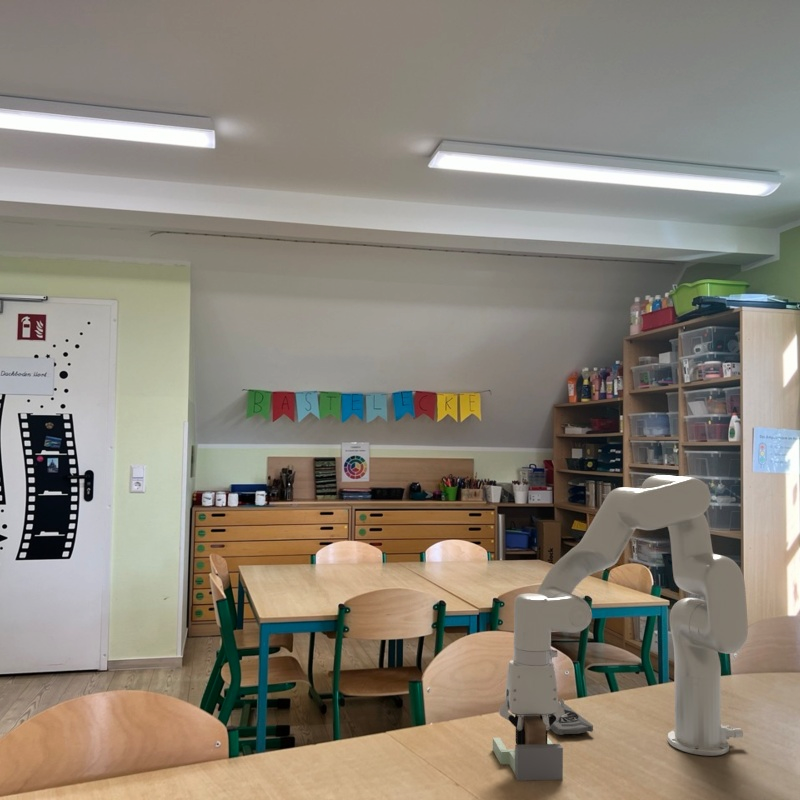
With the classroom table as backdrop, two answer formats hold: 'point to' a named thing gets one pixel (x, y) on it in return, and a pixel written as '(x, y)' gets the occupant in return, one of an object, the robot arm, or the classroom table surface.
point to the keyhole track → (532, 760)
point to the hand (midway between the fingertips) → (531, 747)
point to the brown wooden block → (534, 730)
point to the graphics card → (570, 722)
